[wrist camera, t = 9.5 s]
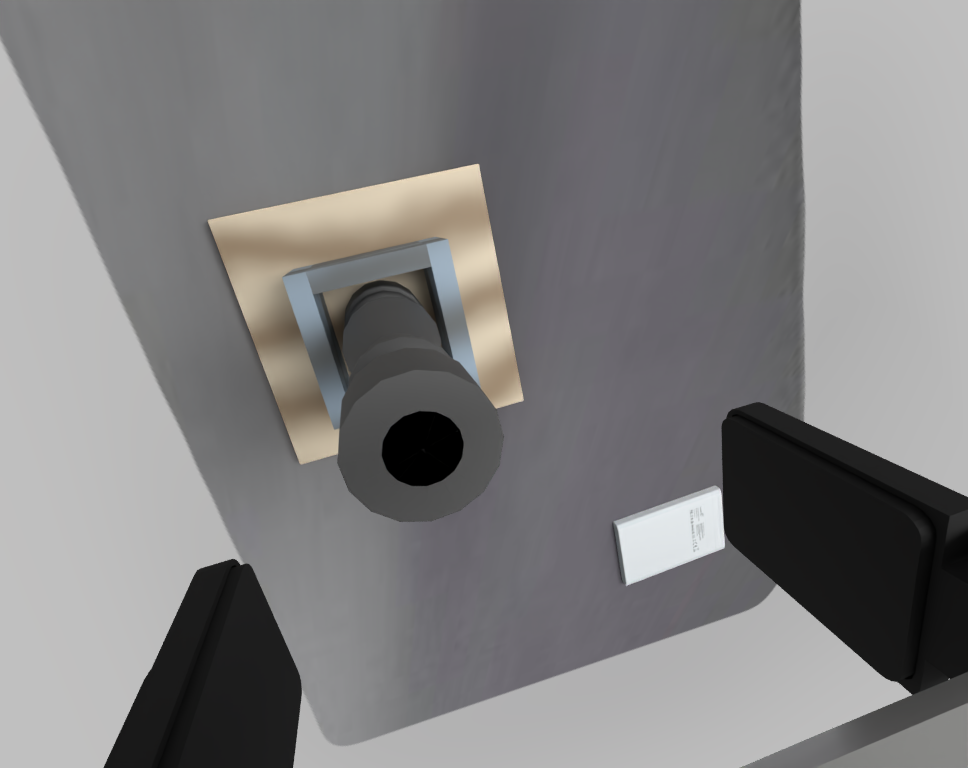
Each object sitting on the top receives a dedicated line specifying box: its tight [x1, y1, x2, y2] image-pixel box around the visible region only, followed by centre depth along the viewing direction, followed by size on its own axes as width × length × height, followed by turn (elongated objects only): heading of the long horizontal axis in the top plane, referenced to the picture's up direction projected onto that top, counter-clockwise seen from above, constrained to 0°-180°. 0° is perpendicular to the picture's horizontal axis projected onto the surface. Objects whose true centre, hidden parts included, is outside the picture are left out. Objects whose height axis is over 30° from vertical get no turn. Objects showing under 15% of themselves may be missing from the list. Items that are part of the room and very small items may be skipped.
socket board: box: [208, 164, 524, 465], centre depth 38 cm, size 20×20×7 cm
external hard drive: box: [613, 486, 725, 586], centre depth 55 cm, size 2×8×12 cm
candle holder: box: [337, 280, 504, 522], centre depth 29 cm, size 6×6×25 cm
